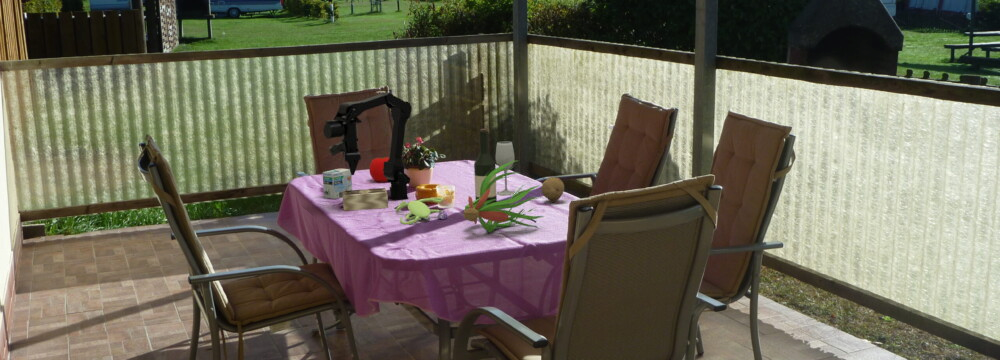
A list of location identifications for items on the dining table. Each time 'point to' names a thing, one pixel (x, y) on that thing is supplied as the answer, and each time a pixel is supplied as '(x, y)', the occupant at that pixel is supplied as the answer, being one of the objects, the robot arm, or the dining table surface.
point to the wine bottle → (484, 167)
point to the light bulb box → (336, 182)
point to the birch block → (365, 199)
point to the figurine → (420, 210)
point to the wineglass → (503, 153)
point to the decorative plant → (497, 204)
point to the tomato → (378, 169)
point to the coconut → (552, 189)
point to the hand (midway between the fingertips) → (352, 174)
